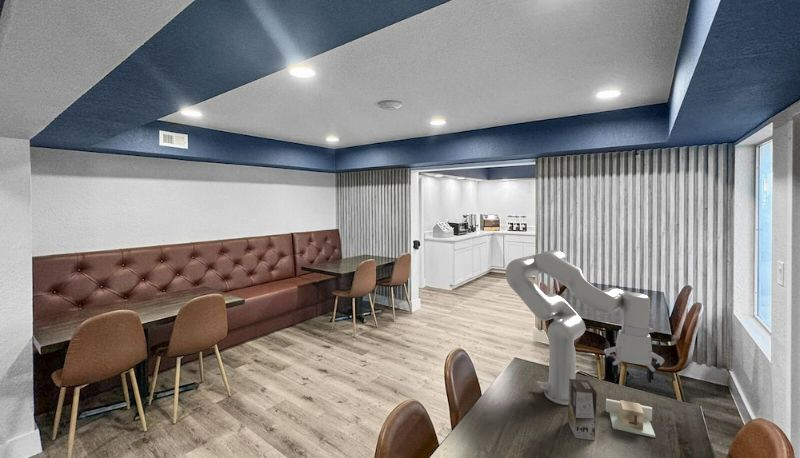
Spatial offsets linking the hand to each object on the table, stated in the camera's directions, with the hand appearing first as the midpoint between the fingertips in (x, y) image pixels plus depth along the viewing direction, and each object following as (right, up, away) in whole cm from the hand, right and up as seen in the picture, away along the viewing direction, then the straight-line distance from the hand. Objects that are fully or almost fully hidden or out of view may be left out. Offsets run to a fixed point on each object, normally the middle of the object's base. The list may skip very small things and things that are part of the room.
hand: (631, 377), depth 121 cm
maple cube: (0, -16, +1) cm, 16 cm away
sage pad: (0, -17, +1) cm, 17 cm away
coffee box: (-18, -18, -1) cm, 25 cm away
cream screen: (+3, -17, +7) cm, 18 cm away
